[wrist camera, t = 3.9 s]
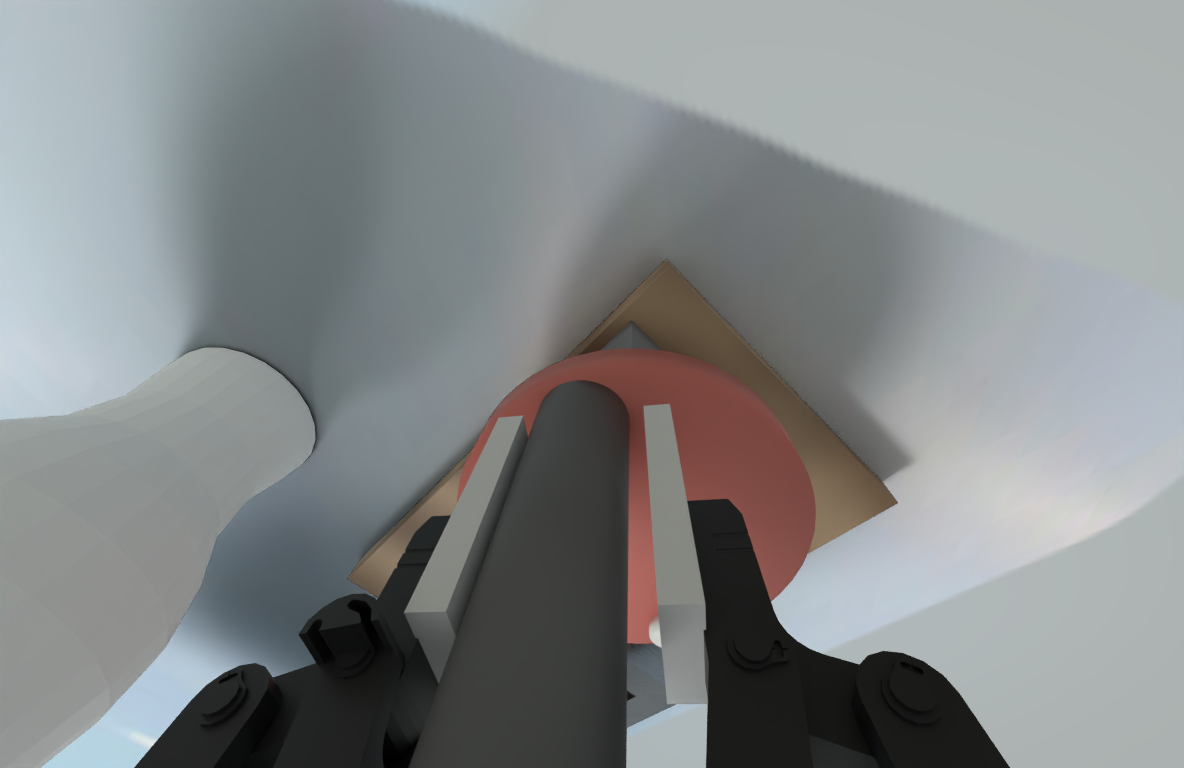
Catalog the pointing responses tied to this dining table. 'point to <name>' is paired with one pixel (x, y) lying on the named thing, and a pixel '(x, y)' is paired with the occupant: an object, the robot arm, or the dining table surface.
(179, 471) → the cup
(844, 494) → the board
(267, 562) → the dining table surface
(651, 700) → the eye
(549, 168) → the dining table surface
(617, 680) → the handwheel
